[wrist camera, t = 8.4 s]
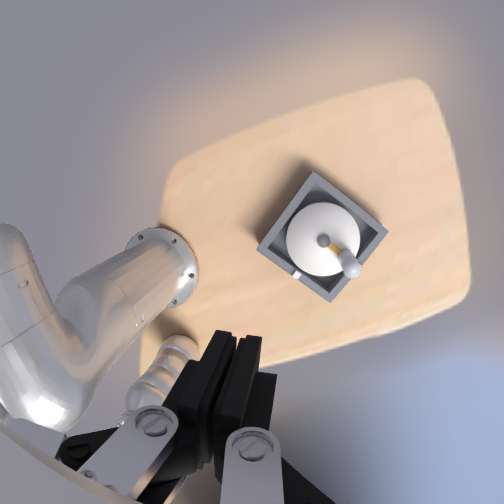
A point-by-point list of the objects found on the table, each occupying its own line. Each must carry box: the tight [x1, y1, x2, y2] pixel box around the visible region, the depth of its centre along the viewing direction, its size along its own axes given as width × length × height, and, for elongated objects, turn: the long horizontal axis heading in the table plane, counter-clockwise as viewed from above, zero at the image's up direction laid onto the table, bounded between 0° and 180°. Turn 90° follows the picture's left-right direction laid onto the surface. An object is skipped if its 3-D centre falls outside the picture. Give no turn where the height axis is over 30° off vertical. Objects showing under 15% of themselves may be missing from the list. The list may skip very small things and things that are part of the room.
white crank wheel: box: [286, 202, 361, 279], centre depth 33 cm, size 9×9×7 cm
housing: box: [256, 171, 389, 303], centre depth 36 cm, size 12×12×4 cm
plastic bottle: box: [118, 335, 200, 427], centre depth 36 cm, size 6×7×20 cm
